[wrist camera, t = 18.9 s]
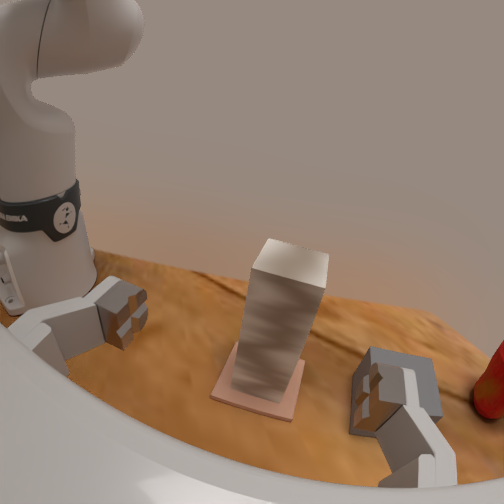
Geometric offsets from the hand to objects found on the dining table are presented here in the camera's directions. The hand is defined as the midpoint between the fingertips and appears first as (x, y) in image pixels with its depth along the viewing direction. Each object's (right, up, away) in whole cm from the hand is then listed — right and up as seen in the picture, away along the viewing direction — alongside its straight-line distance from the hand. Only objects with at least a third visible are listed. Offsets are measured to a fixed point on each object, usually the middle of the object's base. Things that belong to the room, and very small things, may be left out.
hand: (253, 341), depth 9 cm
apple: (+31, -18, +15) cm, 39 cm away
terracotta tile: (+1, -10, +19) cm, 21 cm away
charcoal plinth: (+14, -14, +16) cm, 26 cm away
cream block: (+1, -10, +18) cm, 21 cm away
